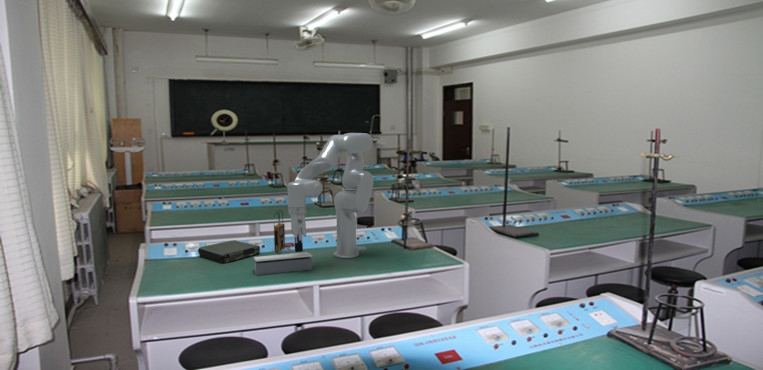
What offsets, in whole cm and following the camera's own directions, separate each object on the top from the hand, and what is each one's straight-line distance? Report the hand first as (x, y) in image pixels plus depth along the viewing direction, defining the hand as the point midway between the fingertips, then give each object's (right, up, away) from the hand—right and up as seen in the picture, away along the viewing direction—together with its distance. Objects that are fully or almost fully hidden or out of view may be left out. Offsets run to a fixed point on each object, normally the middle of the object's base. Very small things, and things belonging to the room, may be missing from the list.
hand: (298, 251), depth 210 cm
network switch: (-38, -6, +24) cm, 46 cm away
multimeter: (-12, -4, +35) cm, 37 cm away
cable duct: (-7, -8, +1) cm, 11 cm away
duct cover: (-7, -3, 0) cm, 8 cm away
